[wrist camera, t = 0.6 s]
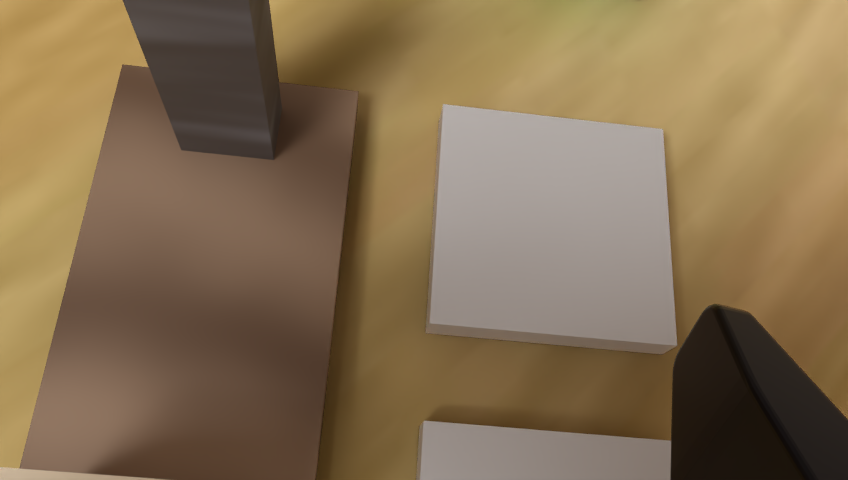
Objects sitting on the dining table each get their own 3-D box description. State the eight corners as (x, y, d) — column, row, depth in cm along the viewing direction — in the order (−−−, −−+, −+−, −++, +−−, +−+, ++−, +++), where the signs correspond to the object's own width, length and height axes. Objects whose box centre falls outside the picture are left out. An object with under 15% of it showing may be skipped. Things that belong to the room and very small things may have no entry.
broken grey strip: (684, 739, 21) (703, 750, 20) (400, 725, 21) (404, 735, 20) (650, 145, 28) (662, 129, 27) (438, 121, 28) (443, 104, 27)
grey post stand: (288, 721, 20) (219, 990, 8) (-23, 706, 20) (-610, 971, 7) (357, 109, 27) (375, -239, 15) (131, 84, 27) (-39, -300, 15)
